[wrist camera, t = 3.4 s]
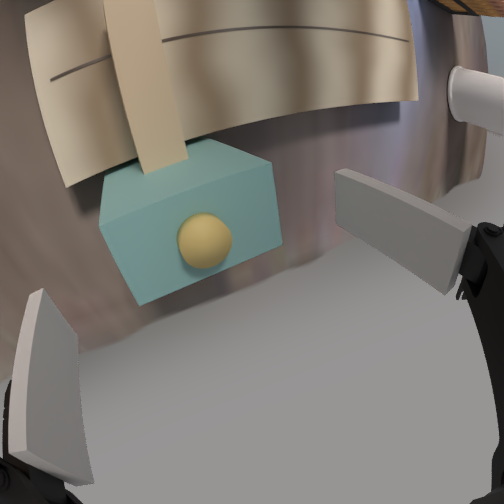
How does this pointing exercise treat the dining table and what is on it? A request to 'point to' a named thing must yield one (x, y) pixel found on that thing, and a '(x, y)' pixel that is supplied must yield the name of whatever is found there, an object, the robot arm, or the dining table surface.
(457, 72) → the white smoke grenade
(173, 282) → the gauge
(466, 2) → the ammunition clip
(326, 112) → the dining table surface
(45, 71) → the board
